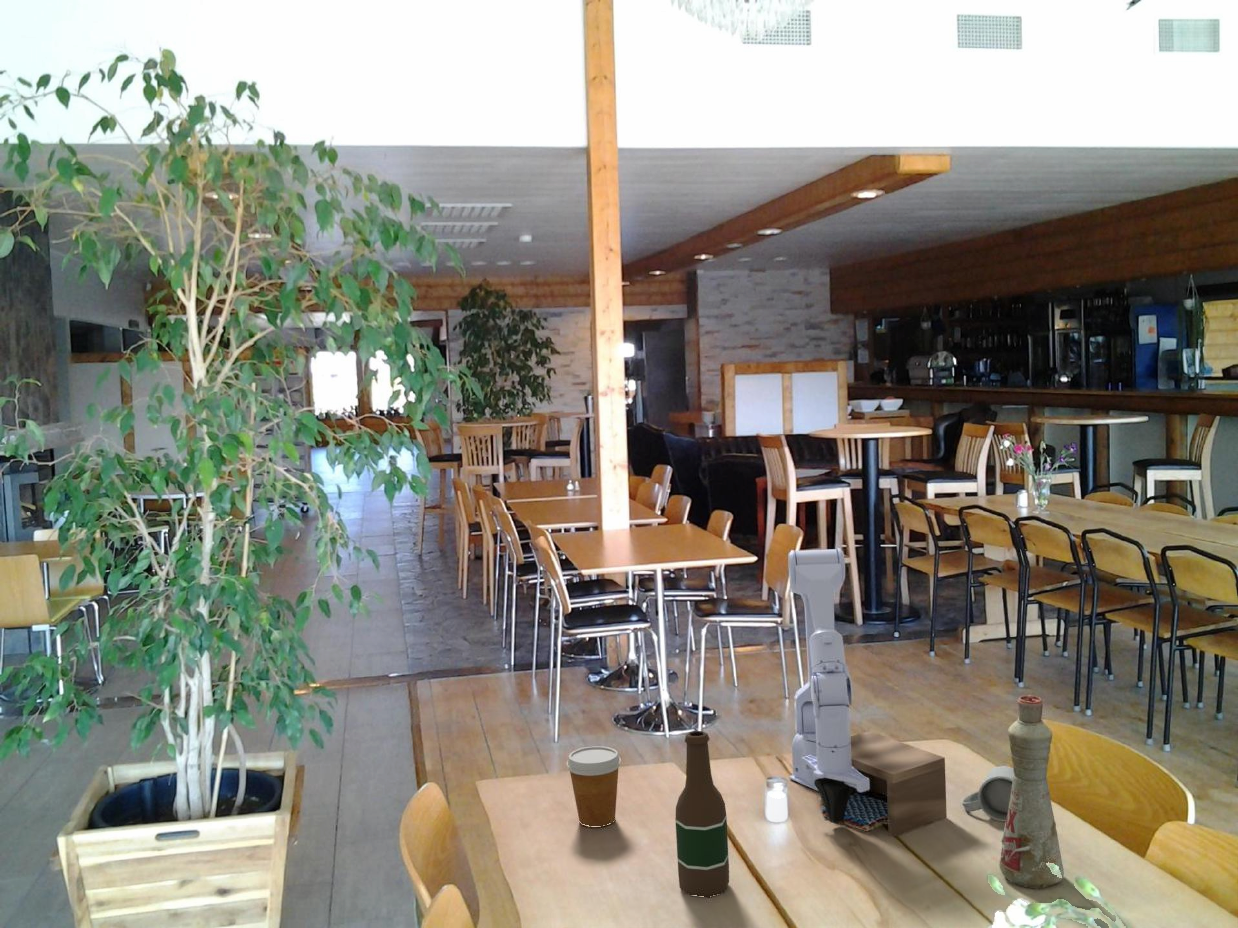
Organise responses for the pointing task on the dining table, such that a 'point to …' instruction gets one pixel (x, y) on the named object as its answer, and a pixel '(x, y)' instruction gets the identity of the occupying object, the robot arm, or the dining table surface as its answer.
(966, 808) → the ceramic mug
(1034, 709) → the bottle
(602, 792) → the disposable coffee cup
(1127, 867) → the dining table surface
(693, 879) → the beer bottle
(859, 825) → the woven mat
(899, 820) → the walnut open box
